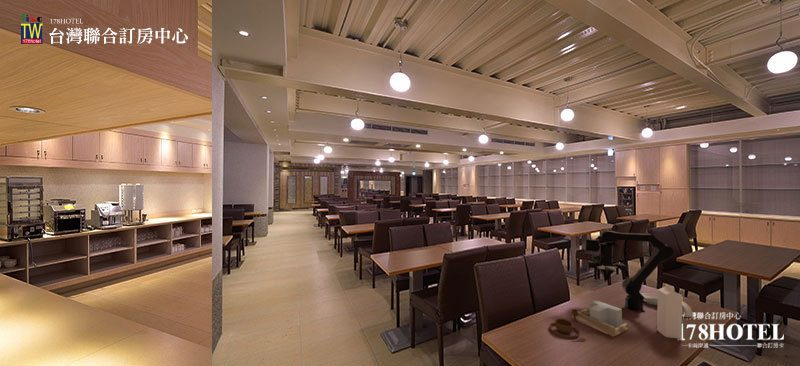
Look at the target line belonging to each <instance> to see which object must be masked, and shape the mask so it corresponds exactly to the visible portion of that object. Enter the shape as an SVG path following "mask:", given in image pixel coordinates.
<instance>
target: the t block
mask: <svg viewBox="0 0 800 366" xmlns="http://www.w3.org/2000/svg"><path fill="white" fill-rule="evenodd" d="M589 309H590V311H589V317H591V318H594V319H596V320H599V321H601V322H604V323H606V324H609V325H611V326H614V327H615V328H616V327H618V326H621V325H623V323H622V321H623V318H622V317H623V309H622V308H619V307H616V306H614V305H611V304H608V303H605V302H602V301H599V300H597V299H593V300H590V301H589Z"/></svg>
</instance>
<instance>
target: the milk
mask: <svg viewBox="0 0 800 366" xmlns="http://www.w3.org/2000/svg"><path fill="white" fill-rule="evenodd" d="M657 295H658V305H656V306H657V316H656V317H657V319H656V320H657V321H656V322H657V323H656V330H657V331H658V333H660V334H661V335H663V336H664V337H665V338H670V339H671V338H673V339H681V340H682V339H683V307H682V301H683V299H682V297H683V294H680V293H678V292H676V291H675V287H673V286H671V285H669V284H667V283H665V285H664V286H663V287H661V288H659V289H657Z"/></svg>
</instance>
